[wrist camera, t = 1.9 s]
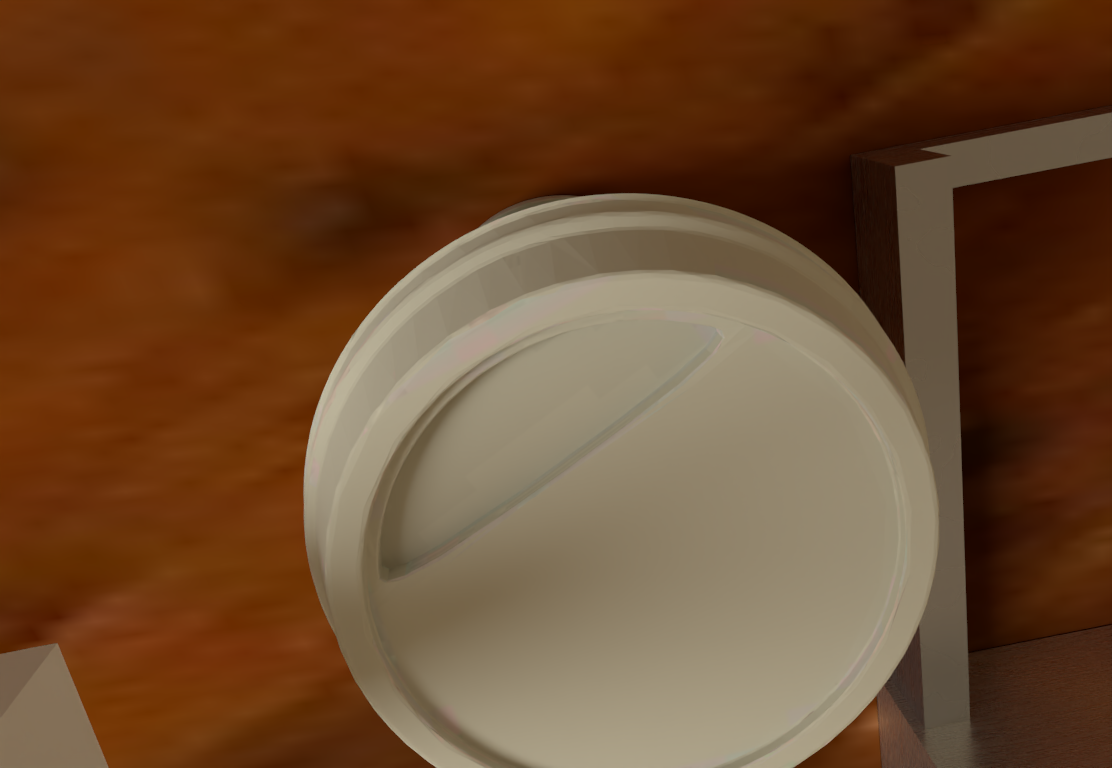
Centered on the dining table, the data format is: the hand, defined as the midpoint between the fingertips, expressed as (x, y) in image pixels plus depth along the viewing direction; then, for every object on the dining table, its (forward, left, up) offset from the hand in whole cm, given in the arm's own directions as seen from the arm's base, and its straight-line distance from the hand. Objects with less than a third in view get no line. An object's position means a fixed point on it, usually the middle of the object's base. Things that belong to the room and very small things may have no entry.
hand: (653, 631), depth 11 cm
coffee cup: (0, 0, -13) cm, 13 cm away
